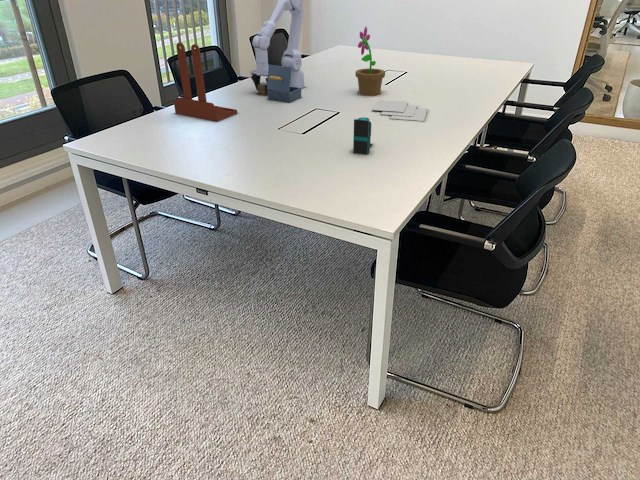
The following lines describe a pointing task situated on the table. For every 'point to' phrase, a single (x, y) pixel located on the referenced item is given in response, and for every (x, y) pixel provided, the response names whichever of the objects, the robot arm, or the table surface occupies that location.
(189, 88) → the hanging shelf
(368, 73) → the flowerpot
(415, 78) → the table surface
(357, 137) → the black teal block
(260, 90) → the walnut block
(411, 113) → the paper stack
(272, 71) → the lid
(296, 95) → the tin box
